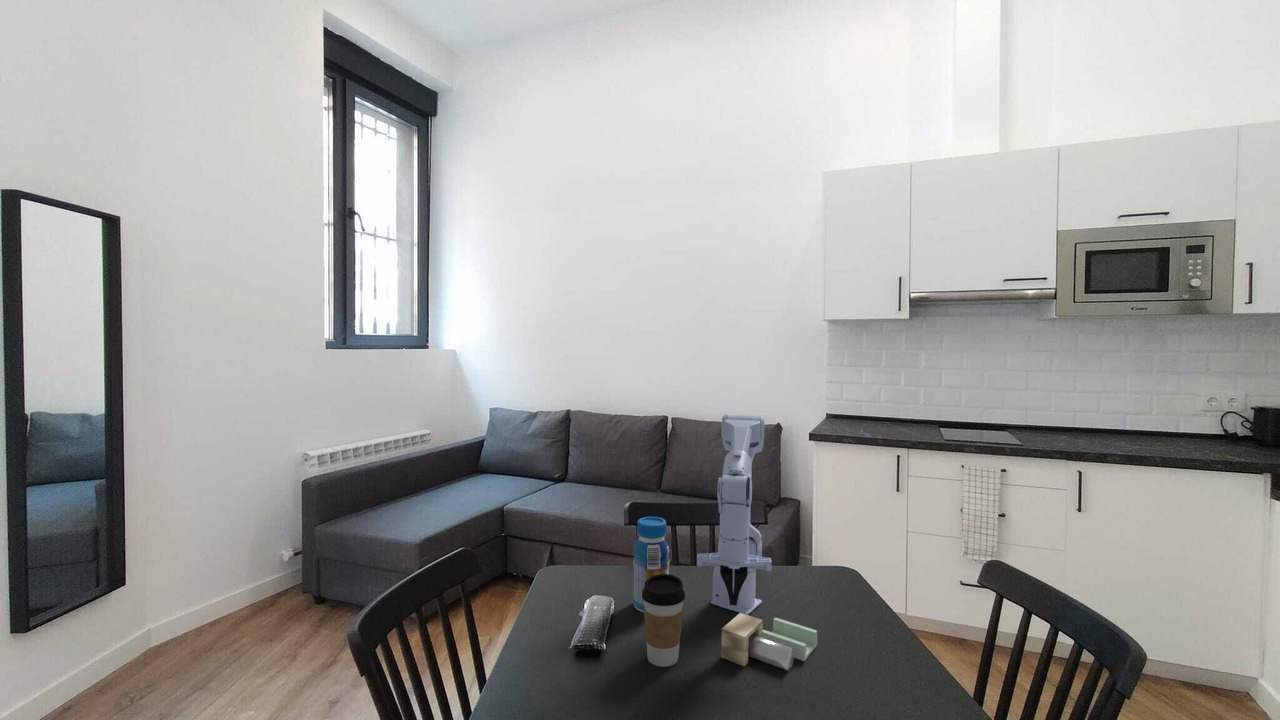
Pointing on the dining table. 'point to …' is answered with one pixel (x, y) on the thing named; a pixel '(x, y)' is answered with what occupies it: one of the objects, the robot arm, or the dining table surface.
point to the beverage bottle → (649, 555)
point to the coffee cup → (663, 618)
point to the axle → (770, 652)
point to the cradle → (793, 637)
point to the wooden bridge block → (739, 637)
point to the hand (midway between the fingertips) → (733, 602)
